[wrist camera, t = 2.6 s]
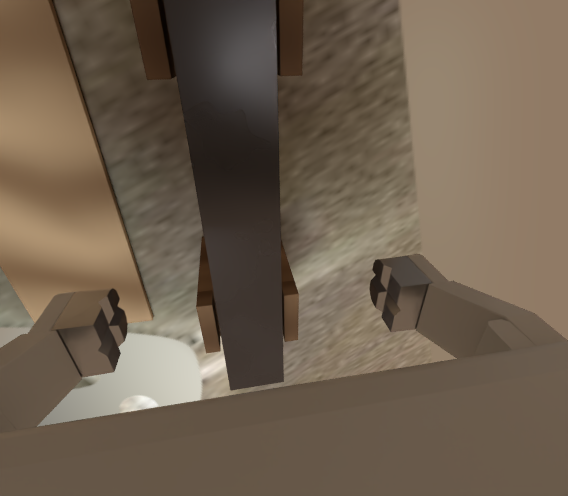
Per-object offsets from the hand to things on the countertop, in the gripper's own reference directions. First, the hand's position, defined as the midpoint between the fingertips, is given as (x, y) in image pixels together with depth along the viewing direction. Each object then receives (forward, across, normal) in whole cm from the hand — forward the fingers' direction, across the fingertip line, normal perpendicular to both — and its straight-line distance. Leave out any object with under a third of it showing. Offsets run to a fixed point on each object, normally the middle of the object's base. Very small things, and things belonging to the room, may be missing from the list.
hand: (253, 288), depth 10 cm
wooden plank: (+12, +12, -1) cm, 17 cm away
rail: (+6, 0, -1) cm, 6 cm away
